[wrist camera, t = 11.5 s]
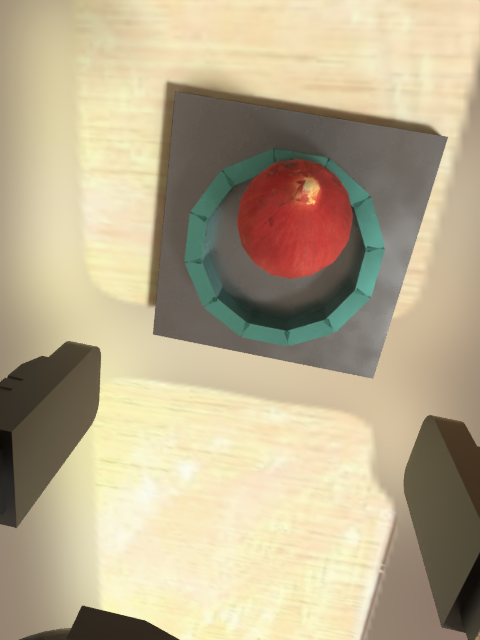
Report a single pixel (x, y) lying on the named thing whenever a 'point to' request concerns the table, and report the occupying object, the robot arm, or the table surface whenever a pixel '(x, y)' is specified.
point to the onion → (294, 218)
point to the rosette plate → (253, 282)
